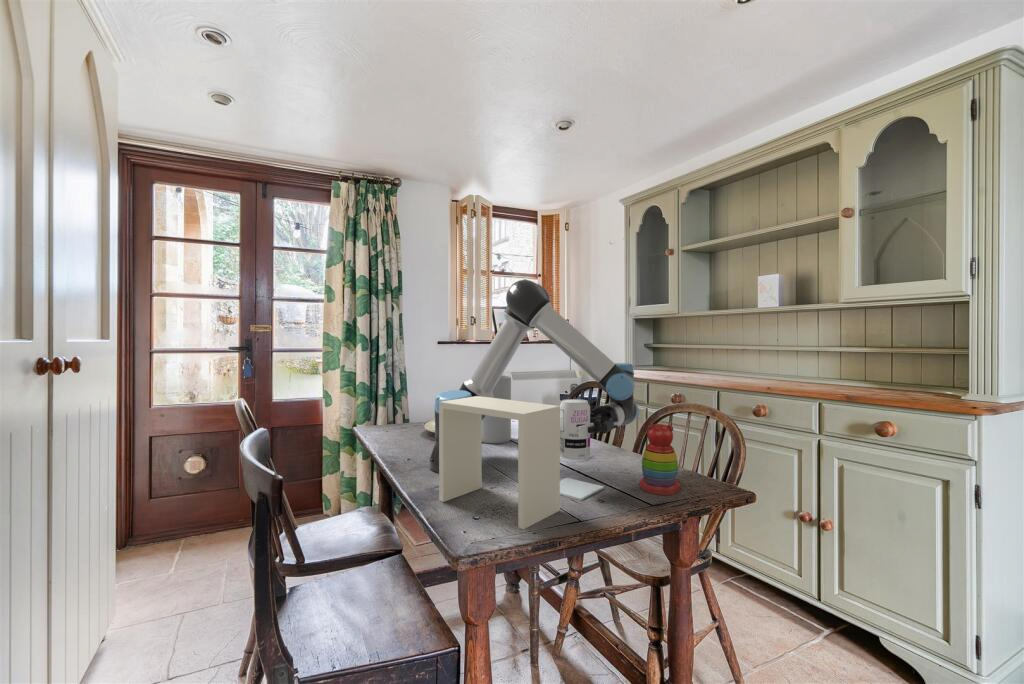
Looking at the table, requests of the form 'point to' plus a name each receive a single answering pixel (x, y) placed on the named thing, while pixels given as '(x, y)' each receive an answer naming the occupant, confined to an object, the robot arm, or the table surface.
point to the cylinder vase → (497, 427)
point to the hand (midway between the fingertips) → (565, 429)
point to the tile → (578, 488)
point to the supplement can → (574, 429)
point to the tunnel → (534, 452)
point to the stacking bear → (660, 462)
